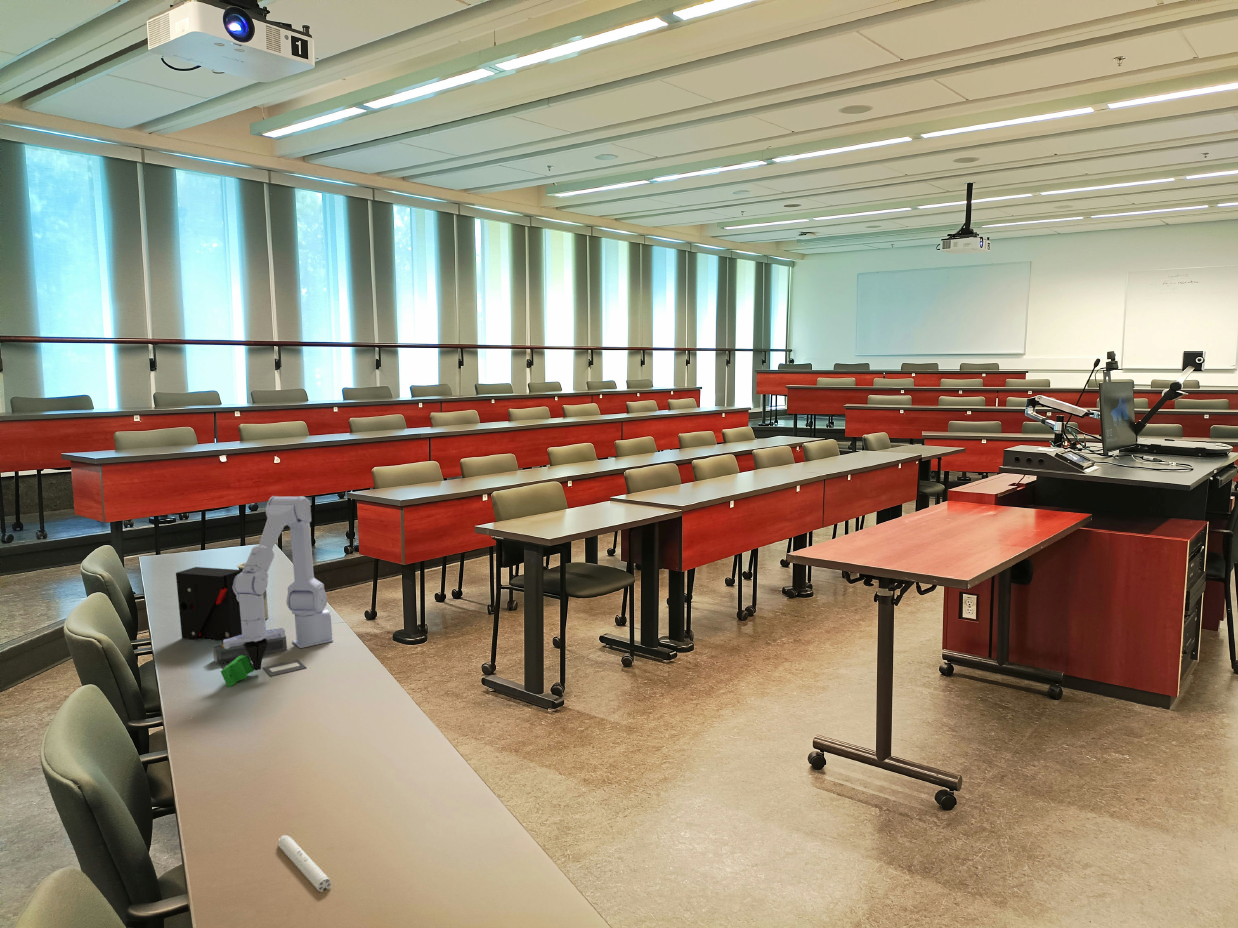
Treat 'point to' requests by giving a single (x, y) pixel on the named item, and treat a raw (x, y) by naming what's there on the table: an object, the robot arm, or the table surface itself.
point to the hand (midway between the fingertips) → (257, 668)
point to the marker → (304, 863)
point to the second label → (284, 667)
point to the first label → (226, 665)
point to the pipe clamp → (237, 670)
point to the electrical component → (208, 604)
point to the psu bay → (233, 652)
